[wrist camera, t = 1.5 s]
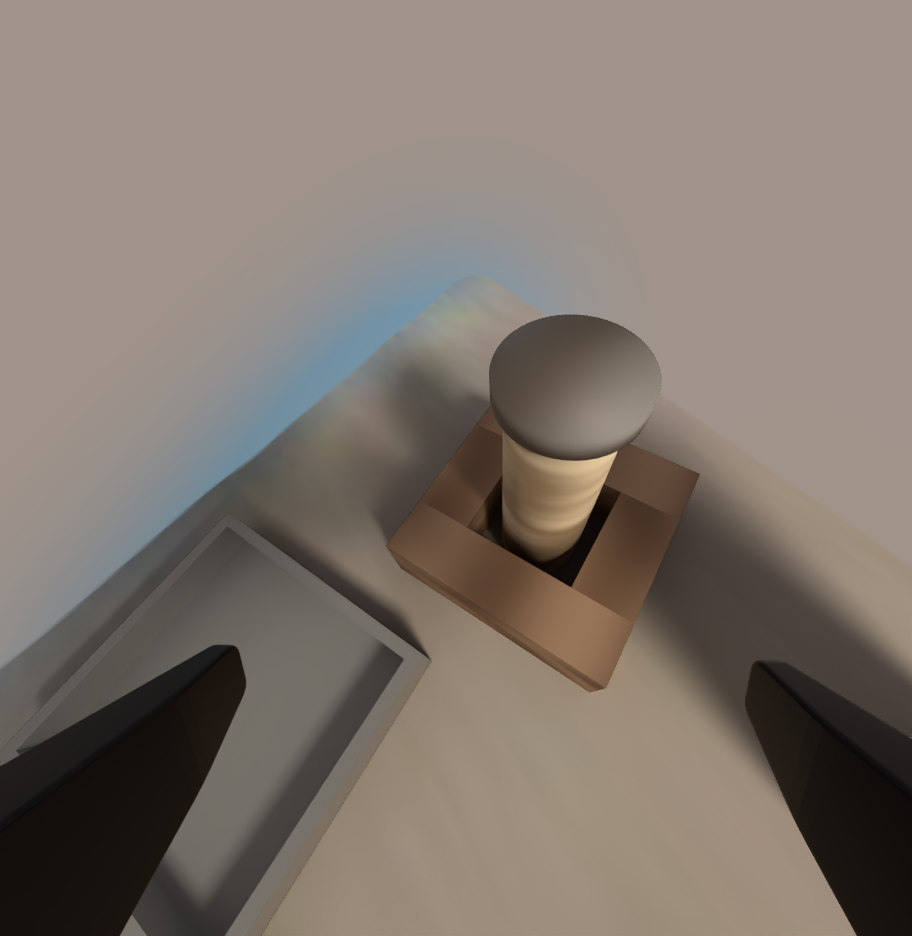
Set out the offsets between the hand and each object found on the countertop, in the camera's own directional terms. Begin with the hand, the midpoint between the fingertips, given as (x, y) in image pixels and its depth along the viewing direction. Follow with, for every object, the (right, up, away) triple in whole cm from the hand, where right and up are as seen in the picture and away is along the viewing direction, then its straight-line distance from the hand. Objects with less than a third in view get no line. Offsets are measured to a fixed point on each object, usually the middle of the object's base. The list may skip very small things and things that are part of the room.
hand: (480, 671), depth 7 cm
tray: (-11, -8, +13) cm, 19 cm away
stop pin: (+4, 0, +16) cm, 16 cm away
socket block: (+4, 0, +16) cm, 16 cm away
